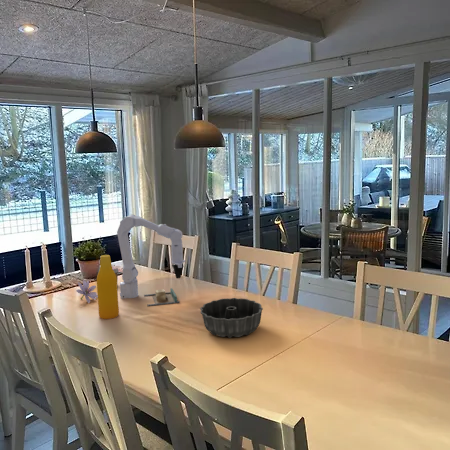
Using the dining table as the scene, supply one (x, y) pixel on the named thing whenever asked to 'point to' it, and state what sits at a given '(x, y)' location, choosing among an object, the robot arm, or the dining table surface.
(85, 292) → the water lily
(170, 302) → the lane rails
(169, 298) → the clear flat box
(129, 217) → the robot arm
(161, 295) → the maple cube
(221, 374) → the dining table surface
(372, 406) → the dining table surface
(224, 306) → the bundt pan
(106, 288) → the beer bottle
